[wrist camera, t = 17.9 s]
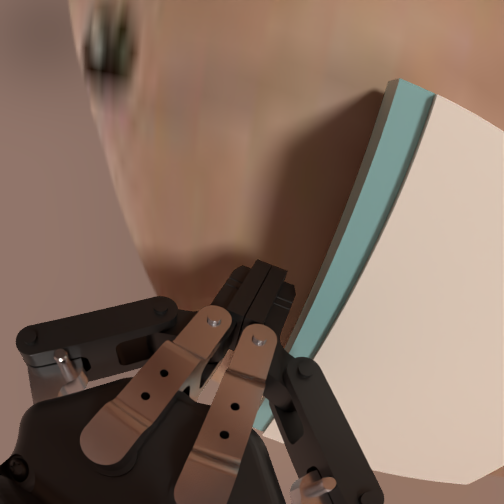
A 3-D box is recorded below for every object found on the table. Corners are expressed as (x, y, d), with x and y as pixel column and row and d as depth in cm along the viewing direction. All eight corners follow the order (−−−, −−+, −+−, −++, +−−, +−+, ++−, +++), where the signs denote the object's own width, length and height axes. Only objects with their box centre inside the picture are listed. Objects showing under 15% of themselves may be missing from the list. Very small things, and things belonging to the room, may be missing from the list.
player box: (294, 357, 23) (262, 435, 18) (407, 89, 12) (437, 94, 6) (468, 414, 20) (467, 484, 14) (615, 237, 8) (666, 305, 3)
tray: (278, 359, 23) (249, 425, 18) (388, 81, 11) (399, 78, 6) (450, 417, 20) (447, 479, 15) (607, 228, 8) (656, 287, 3)
